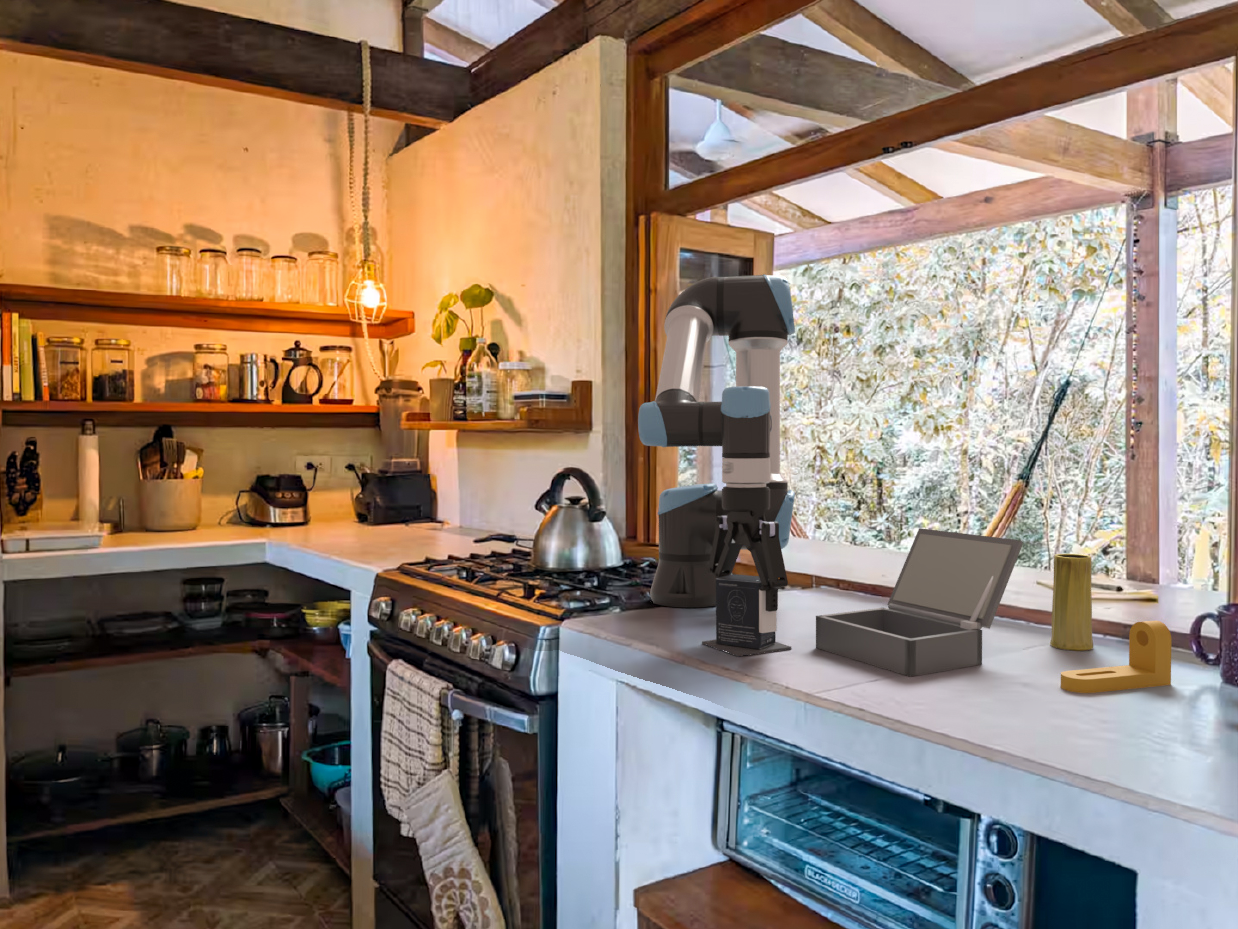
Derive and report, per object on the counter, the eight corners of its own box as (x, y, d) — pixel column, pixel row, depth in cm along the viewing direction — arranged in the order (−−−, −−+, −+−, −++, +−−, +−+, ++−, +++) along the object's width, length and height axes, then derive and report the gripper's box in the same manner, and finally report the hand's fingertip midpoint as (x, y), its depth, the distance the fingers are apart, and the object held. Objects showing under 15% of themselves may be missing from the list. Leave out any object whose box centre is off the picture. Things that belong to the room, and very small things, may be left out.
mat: (702, 643, 151) (702, 641, 151) (753, 637, 156) (753, 634, 156) (738, 656, 142) (738, 654, 142) (791, 649, 147) (791, 646, 147)
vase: (1090, 643, 149) (1091, 554, 149) (1096, 652, 144) (1097, 559, 143) (1048, 641, 151) (1049, 552, 151) (1052, 649, 146) (1053, 557, 145)
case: (815, 647, 148) (815, 535, 147) (921, 632, 158) (922, 528, 158) (910, 676, 130) (910, 549, 130) (1022, 657, 141) (1023, 540, 140)
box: (776, 643, 149) (776, 577, 149) (759, 650, 144) (759, 581, 144) (732, 637, 154) (732, 572, 153) (714, 644, 149) (714, 577, 149)
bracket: (1143, 677, 130) (1144, 617, 129) (1170, 686, 125) (1171, 624, 125) (1053, 686, 125) (1053, 624, 125) (1077, 695, 121) (1078, 631, 121)
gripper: (686, 482, 157) (687, 615, 157) (771, 490, 136) (771, 642, 137) (724, 481, 160) (724, 610, 161) (812, 488, 140) (812, 636, 140)
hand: (746, 625), depth 149 cm, fingers open, 11 cm apart
